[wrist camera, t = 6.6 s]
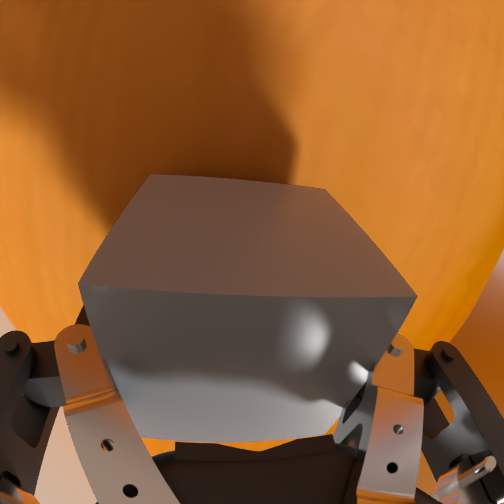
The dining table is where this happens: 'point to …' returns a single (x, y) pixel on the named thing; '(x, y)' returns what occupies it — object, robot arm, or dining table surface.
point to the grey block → (239, 308)
